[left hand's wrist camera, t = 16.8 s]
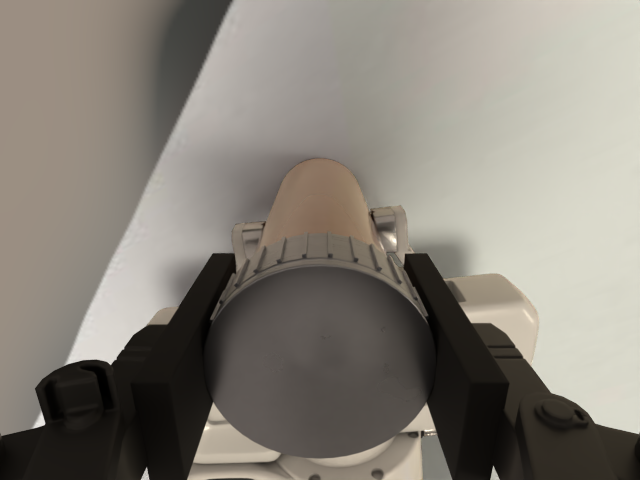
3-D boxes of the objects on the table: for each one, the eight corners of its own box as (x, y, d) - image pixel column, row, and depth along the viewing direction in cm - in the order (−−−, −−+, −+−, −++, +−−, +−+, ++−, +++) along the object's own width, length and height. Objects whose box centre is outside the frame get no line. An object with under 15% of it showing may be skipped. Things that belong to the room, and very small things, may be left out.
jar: (273, 161, 25) (205, 272, 10) (359, 154, 25) (418, 257, 10) (283, 241, 27) (237, 435, 12) (363, 235, 27) (418, 424, 12)
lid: (240, 412, 13) (226, 470, 11) (198, 242, 11) (172, 277, 9) (423, 394, 13) (442, 450, 11) (415, 217, 11) (437, 246, 9)
